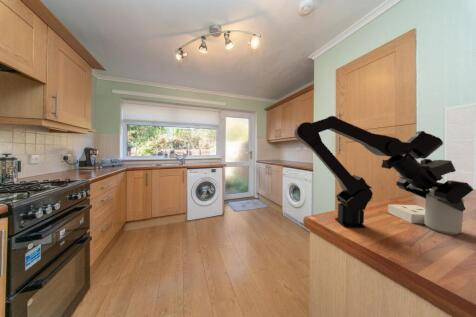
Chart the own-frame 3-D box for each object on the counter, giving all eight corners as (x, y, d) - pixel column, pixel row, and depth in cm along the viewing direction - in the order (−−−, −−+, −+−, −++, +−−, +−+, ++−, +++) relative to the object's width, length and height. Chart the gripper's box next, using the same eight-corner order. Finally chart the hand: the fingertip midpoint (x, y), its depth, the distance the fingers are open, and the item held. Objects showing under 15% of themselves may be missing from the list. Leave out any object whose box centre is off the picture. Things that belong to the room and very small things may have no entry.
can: (470, 237, 49) (473, 195, 49) (438, 234, 51) (441, 193, 50) (444, 225, 57) (447, 189, 56) (417, 223, 58) (419, 188, 57)
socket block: (411, 222, 58) (411, 214, 58) (387, 212, 68) (388, 204, 68) (443, 223, 58) (443, 214, 58) (415, 212, 68) (415, 205, 68)
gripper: (467, 151, 44) (517, 196, 43) (407, 150, 62) (441, 181, 61) (428, 181, 45) (476, 225, 44) (381, 171, 64) (414, 202, 63)
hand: (449, 205), depth 53 cm, fingers closed on can, 7 cm apart
